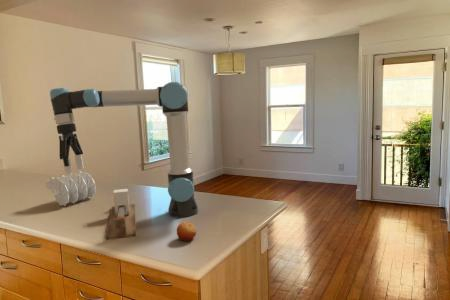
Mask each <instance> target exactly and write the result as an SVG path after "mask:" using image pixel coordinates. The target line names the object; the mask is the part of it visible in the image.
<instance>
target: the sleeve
mask: <svg viewBox="0 0 450 300" xmlns="http://www.w3.org/2000/svg"><path fill="white" fill-rule="evenodd" d="M129 199H130V198H129V189H128V188H121V189H120V188H119V189H114V190H113V204H114V206H115V216H118V212H119V206H121V205H125V206H126V209H125V215H129V205H130V203H129Z"/></svg>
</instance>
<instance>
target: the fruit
mask: <svg viewBox="0 0 450 300" xmlns="http://www.w3.org/2000/svg"><path fill="white" fill-rule="evenodd" d="M176 235H177V237H178V239H177V241H179V240H181V241H183V242H189V241H192V240H193V238H195V237H196V235H197V229H196V227H195V225H194V224H193V223H190V222H189V221H188V222H187V221H183V222H181V223H180V224H178V226H177V228H176Z"/></svg>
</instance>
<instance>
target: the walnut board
mask: <svg viewBox="0 0 450 300" xmlns="http://www.w3.org/2000/svg"><path fill="white" fill-rule="evenodd" d="M135 207H136V205H135V204H134V203H133V204H129V215H125V216H124V218H118V219H117V216H115V205H114V206H113V205H112V206H111V208H110V209H111V210H110V213H109V214H110V215H109V219H108V220H109V221H108V224H107V231H106V236H105V240H106V241H108V240H115V239H116V240H117V239H125V238H132V237H136V236H137V229H136V228H137V226H136V209H135ZM125 209H126V206H125Z"/></svg>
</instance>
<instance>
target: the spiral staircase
mask: <svg viewBox="0 0 450 300" xmlns="http://www.w3.org/2000/svg"><path fill="white" fill-rule="evenodd" d="M44 186H45V187H46V188H47V189H48V190H50V191H51V193H52V195H53V196H54V198H55V203H57V204H59V206H64V207H66V206H67V204H68V203H69V204H70V203H71V204H72V205H74V204H75V203H76V202H78V201H82V200H83V201H84V200H85V199H87V198H91V199H92V198H93V197H94V196H95V195H96V191H97V187H96V182H95V180H94V179H93V176H92V175H91V174H89V173H87V171H81V170H79V171H78V172H75V173H71V174H67V175H64V174H63V175H61V176H57V177H54V176H52V177H51V178H49V179H46V182H45V185H44Z"/></svg>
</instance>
